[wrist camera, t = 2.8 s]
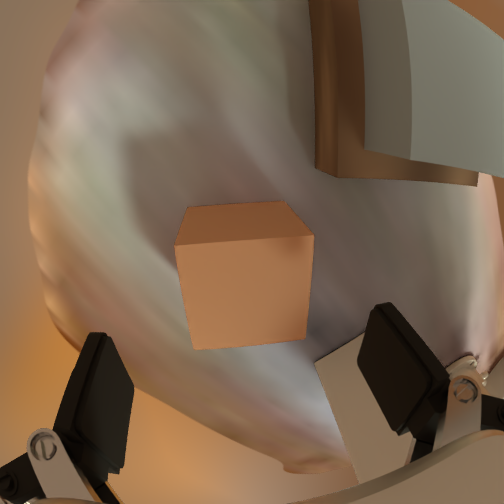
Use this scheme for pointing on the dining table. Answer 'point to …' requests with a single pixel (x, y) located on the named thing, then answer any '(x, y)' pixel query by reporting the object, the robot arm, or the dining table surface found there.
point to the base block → (354, 105)
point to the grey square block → (433, 84)
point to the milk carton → (360, 415)
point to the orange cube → (244, 274)
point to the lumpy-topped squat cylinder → (496, 380)
